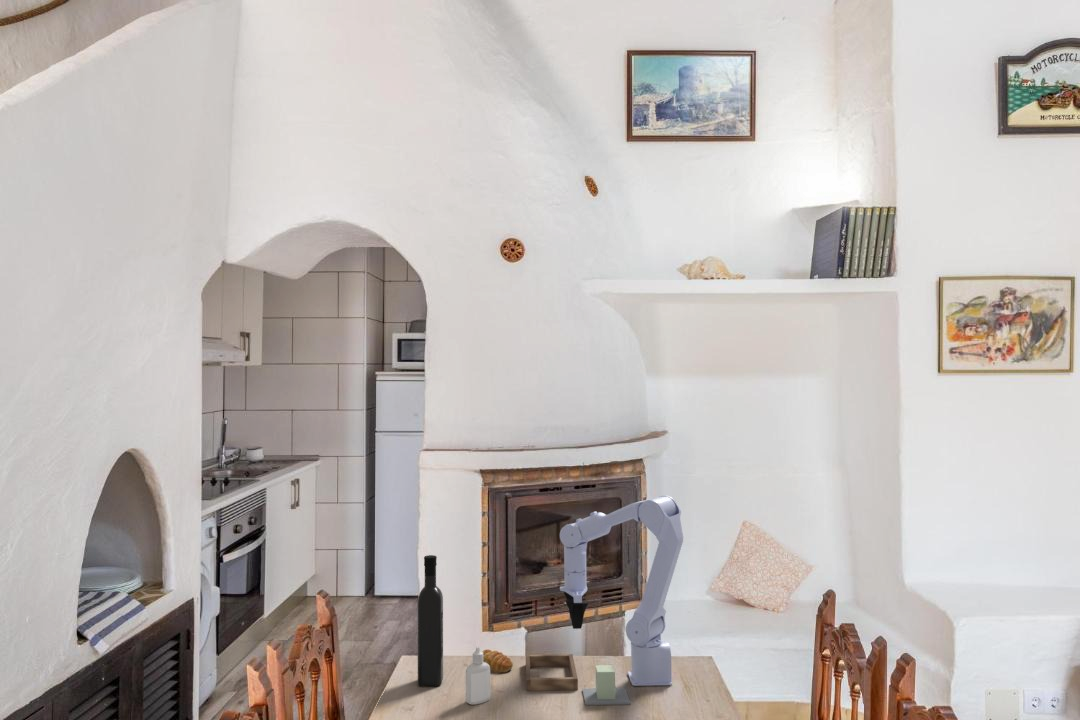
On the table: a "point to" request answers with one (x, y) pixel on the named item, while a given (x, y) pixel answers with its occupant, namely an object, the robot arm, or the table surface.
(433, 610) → the wine bottle
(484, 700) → the eye dropper bottle
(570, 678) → the box
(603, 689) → the wood block
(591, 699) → the mat
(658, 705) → the table surface
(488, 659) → the pastry
